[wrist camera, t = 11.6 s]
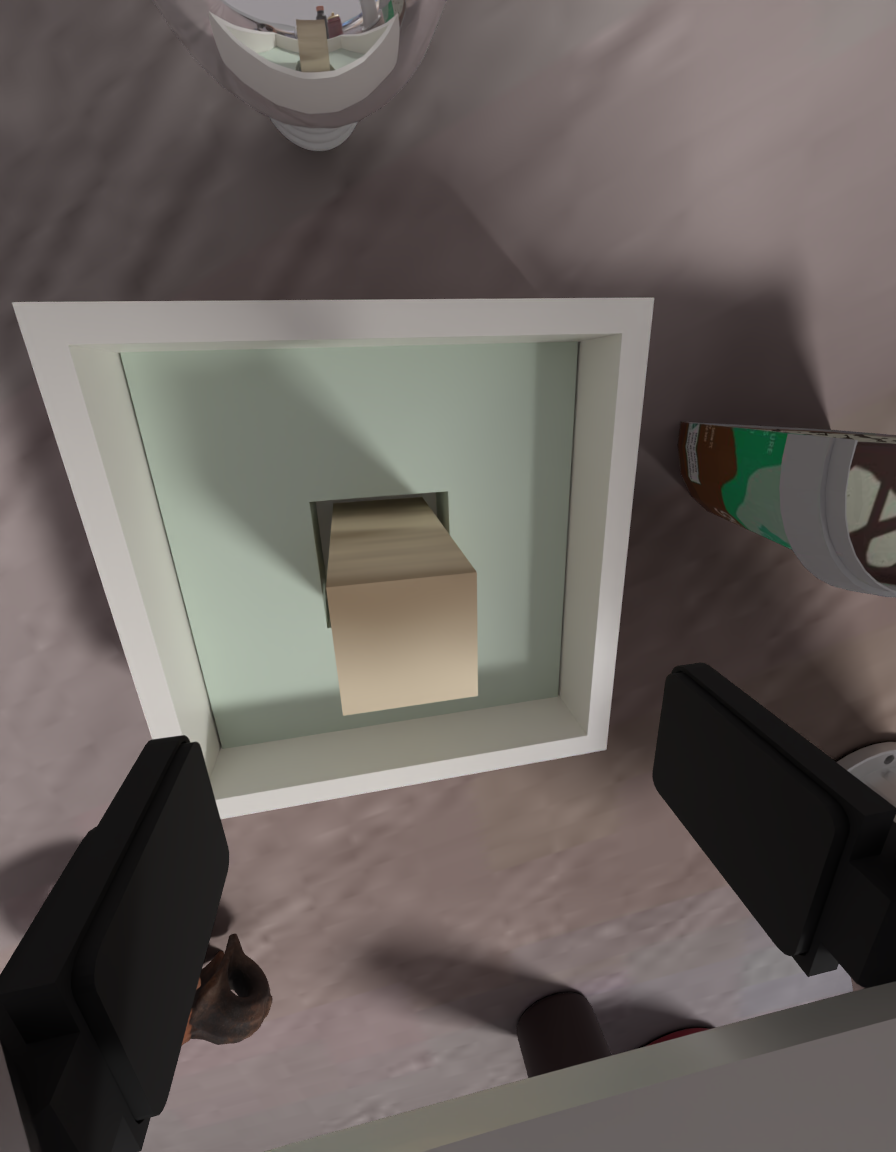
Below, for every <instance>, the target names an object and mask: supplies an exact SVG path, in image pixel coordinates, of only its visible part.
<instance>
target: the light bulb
mask: <svg viewBox="0 0 896 1152" xmlns="http://www.w3.org/2000/svg"><path fill="white" fill-rule="evenodd" d="M446 1H447V0H153V2H154V4H155V6H156V7H157V9H158V10H159V12H160V13H161V15H162V16H163V18H164V19H165V21H166V22H167V24H168V26H169V27H170V28H171V30H172V31H173V32H174V34H175V35H176V36H177V37H178V39H179V40H180V41H181V43H182V44H183V45H184V47H185V48H186V49H187V51H188V52H189V53H190V55H191V56H192V57H193V58H194V60H195V61H196V62H197V63H198V64H199V65H200V66H201V67H202V68H204V69H205V70H206V71H207V72H208V73H209V74H210V75H211V76H212V77H213V78H214V79H215V80H216V81H217V82H218V83H219V84H220V85H221V86H222V87H223V88H225V89H226V90H227V91H229V92H230V93H231V94H233V95H234V96H236V97H237V98H239V99H240V100H241V101H243V102H244V103H246V104H247V105H249V106H250V107H252V108H253V109H255V110H256V111H257V112H259V113H262V114H264V115H266V116H268V117H269V118H270V119H271V121H272V122H273V124H274V125H275V126H276V128H277V129H278V130H279V131H280V132H281V133H282V134H283V135H284V136H285V137H286V138H287V139H288V140H290V141H291V142H293V143H294V144H296V145H298V146H300V147H302V148H304V149H308V150H312V151H326V150H330V149H333V148H335V147H337V146H339V145H340V144H342V143H343V142H344V141H345V140H346V139H347V138H348V137H349V136H350V134H351V133H352V132H353V130H354V128H355V126H356V124H357V122H359V121H361V120H362V119H364V118H366V117H367V116H369V115H371V114H372V113H374V112H376V111H377V110H379V109H381V108H382V107H383V106H384V105H386V104H387V103H388V102H389V101H390V100H391V99H392V98H393V97H394V96H395V95H396V94H397V93H398V92H399V91H400V90H401V89H402V88H403V87H404V86H405V85H406V84H407V83H408V82H409V80H410V79H411V77H412V76H413V74H414V73H415V71H416V69H417V68H418V66H419V65H420V63H421V62H422V60H423V59H424V57H425V55H426V52H427V50H428V48H429V45H430V43H431V41H432V38H433V36H434V33H435V31H436V28H437V26H438V23H439V21H440V18H441V16H442V13H443V11H444V8H445V5H446Z"/></svg>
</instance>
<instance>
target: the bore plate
mask: <svg viewBox="0 0 896 1152" xmlns="http://www.w3.org/2000/svg"><path fill="white" fill-rule="evenodd" d="M577 352H578V342H537V343H495V344H452V345H410V346H368V347H325V348H283V349H240V350H198V351H155V352H120V354H121V358H122V362H123V366H124V370H125V374H126V377H127V381H128V385H129V389H130V393H131V397H132V401H133V405H134V408H135V412H136V416H137V420H138V424H139V428H140V432H141V436H142V439H143V443H144V447H145V451H146V455H147V459H148V463H149V467H150V470H151V474H152V478H153V482H154V486H155V490H156V494H157V498H158V501H159V505H160V509H161V513H162V517H163V521H164V525H165V529H166V532H167V536H168V540H169V544H170V548H171V552H172V556H173V560H174V563H175V567H176V571H177V575H178V579H179V583H180V587H181V591H182V594H183V598H184V602H185V606H186V610H187V614H188V618H189V622H190V625H191V629H192V633H193V637H194V641H195V645H196V649H197V653H198V656H199V660H200V664H201V668H202V672H203V676H204V680H205V684H206V687H207V691H208V695H209V699H210V703H211V707H212V711H213V715H214V718H215V722H216V726H217V730H218V734H219V738H220V742H221V746H222V749H226V748H232V747H239V746H245V745H251V744H258V743H264V742H271V741H277V740H283V739H290V738H296V737H302V736H309V735H315V734H322V733H328V732H334V731H341V730H347V729H354V728H360V727H366V726H373V725H379V724H386V723H392V722H398V721H405V720H411V719H417V718H424V717H430V716H437V715H443V714H449V713H456V712H462V711H469V710H475V709H481V708H488V707H494V706H501V705H507V704H513V703H520V702H526V701H532V700H539V699H545V698H552V697H558V685H559V667H560V650H561V632H562V615H563V597H564V580H565V562H566V545H567V527H568V510H569V492H570V475H571V457H572V440H573V422H574V405H575V387H576V370H577ZM432 492H436V508H437V518H438V519H439V521H440V522H441V524H442V525H443V526H444V528H445V529H446V530H447V532H448V533H449V535H450V536H451V537H452V539H453V540H454V541H455V543H456V544H457V546H458V547H459V548H460V550H461V551H462V552H463V554H464V555H465V557H466V558H467V559H468V561H469V562H470V563H471V565H472V566H473V568H474V569H475V570H476V572H477V640H478V696H474V697H468V698H461V699H454V700H447V701H440V702H434V703H427V704H420V705H413V706H407V707H400V708H393V709H386V710H379V711H373V712H366V713H359V714H352V715H345V716H343V712H342V704H341V697H340V689H339V681H338V674H337V666H336V659H335V651H334V644H333V636H332V629H331V621H330V614H329V606H328V599H327V591H326V582H327V581H326V574H325V566H324V559H323V552H322V545H321V537H320V530H319V523H318V515H317V508H316V501H327V500H340V499H353V498H366V497H379V496H392V495H406V494H419V493H432Z"/></svg>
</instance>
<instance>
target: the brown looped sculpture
mask: <svg viewBox="0 0 896 1152" xmlns="http://www.w3.org/2000/svg"><path fill="white" fill-rule="evenodd" d="M231 990H234V991H235V992H236V993H237V995H238V996H237V995H235V994H234V993H233V992H232V991H231ZM271 1004H272V996H271V994H270V988H269V984H268V981H267V978H266V976H265V974H264V972H263V971H262V970H261V968H260V967H259V966H258V965H257V964H256V963H255V962H254V961H253V960H252V959H250V958H249V957H248V956H246V955H245V954H244V952H243V950H242V947H241V945H240V942H239V939H238V936H237V934H232V935H230V936H229V939H228V943H227V946H226V951H225V954H224V952H223V951H219V952H218V953H217V954H216V956H215V957H214V958H213V959H212V961H211V962H210V963H209V964H208V965H207V966H206V967H205V968H203V969H202V970H201V974H200V978H199V982H198V985H197V989H196V993H195V997H194V1000H193V1004H192V1008H191V1012H190V1016H189V1019H188V1023H187V1027H186V1031H185V1035H184V1038H183V1042H182V1045H183V1044H184V1043H186V1042H188V1041H189V1040H190V1039H202V1040H206V1041H209V1042H211V1043H214V1044H217V1045H221V1044H229V1043H237V1042H240V1041H242V1040H244V1039H246V1038H248V1037H250V1036H251V1035H252V1034H253V1033H254V1032H256V1031H257V1030H258V1029H259V1027H260V1026H261V1024H262V1022H263V1020H264V1019H265V1017H266V1016H267V1015H268V1013H269V1010H270V1007H271Z"/></svg>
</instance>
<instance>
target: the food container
mask: <svg viewBox="0 0 896 1152" xmlns="http://www.w3.org/2000/svg"><path fill="white" fill-rule="evenodd" d="M678 454H679V463H680V472H681V475H682V477H683V480H684V482H685V484H686V486H687V488H688V490H689V492H690V495H691V496H692V497H693V498H694V499H695V500H696V501H697V502H698V503H699V504H700V505H702V506H703V507H704V508H705V509H706V510H707V511H709V512H711V513H713V514H715V515H717V516H720V517H722V518H724V519H726V520H728V521H731V522H733V523H735V524H737V525H739V526H742V527H744V528H746V529H748V530H750V531H752V532H755V533H757V534H759V535H761V536H763V537H766V538H768V539H770V540H772V541H774V542H776V543H779V544H781V545H783V546H785V547H787V548H790V549H792V550H793V552H794V553H795V555H796V556H797V557H798V559H799V560H800V562H801V563H802V564H803V566H804V567H805V568H806V569H807V570H809V571H810V572H811V573H812V574H813V575H814V576H815V577H816V578H818V579H820V580H822V581H824V582H826V583H828V584H829V585H831V586H835V587H838V588H842V589H846V590H850V591H855V592H861V593H867V594H873V595H878V596H884V597H896V435H887V434H875V433H863V432H851V431H839V430H824V429H806V428H788V427H769V426H751V425H733V424H714V423H696V422H681V424H680V431H679V438H678Z"/></svg>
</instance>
